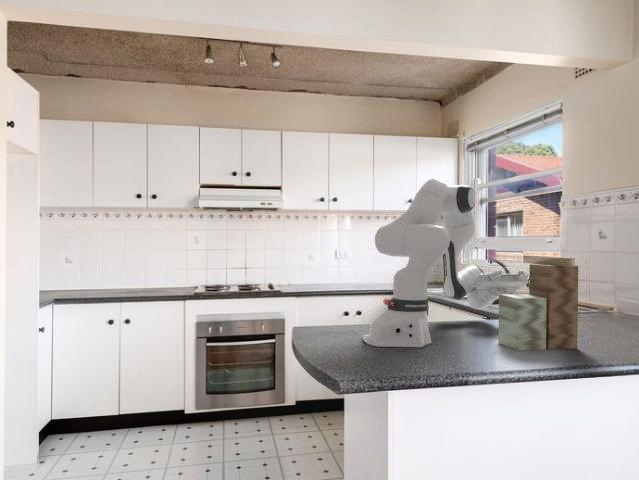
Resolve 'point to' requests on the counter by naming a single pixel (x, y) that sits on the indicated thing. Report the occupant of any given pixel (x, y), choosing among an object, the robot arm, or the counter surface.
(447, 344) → the counter surface
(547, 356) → the counter surface
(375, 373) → the counter surface
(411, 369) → the counter surface
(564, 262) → the batten
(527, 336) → the stand
